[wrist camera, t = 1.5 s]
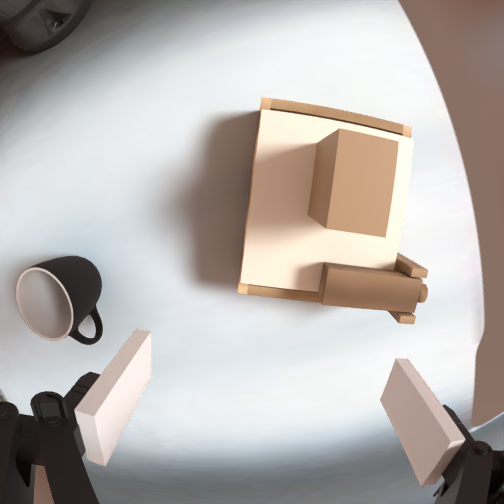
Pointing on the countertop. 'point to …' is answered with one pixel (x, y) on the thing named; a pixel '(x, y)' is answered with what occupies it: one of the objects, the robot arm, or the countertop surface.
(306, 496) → the countertop surface
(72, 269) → the mug
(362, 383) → the countertop surface
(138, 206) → the countertop surface
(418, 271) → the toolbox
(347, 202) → the lid
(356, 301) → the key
